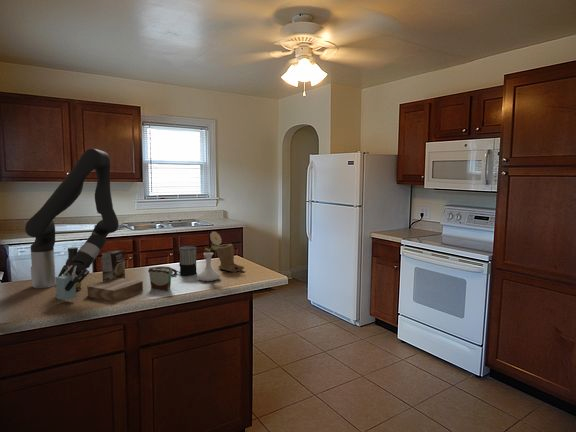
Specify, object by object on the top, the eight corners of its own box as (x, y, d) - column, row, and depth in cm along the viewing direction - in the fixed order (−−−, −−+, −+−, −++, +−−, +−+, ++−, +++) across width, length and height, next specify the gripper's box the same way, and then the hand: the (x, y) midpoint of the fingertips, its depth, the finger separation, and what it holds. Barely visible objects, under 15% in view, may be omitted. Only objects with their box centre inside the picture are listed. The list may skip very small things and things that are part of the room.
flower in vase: (204, 284, 185) (203, 234, 183) (193, 279, 194) (192, 231, 191) (227, 279, 194) (226, 231, 191) (215, 275, 202) (215, 229, 200)
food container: (178, 288, 179) (178, 267, 178) (170, 291, 173) (170, 270, 172) (157, 285, 183) (156, 265, 182) (148, 288, 177) (147, 268, 176)
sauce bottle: (70, 292, 170) (68, 249, 168) (63, 290, 173) (60, 248, 171) (84, 289, 176) (82, 247, 174) (77, 287, 179) (75, 246, 177)
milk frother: (200, 273, 206) (200, 247, 204) (178, 280, 193) (177, 251, 191) (182, 270, 214) (182, 244, 212) (159, 276, 200) (159, 248, 199)
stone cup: (212, 269, 216) (212, 243, 214) (230, 266, 223) (230, 241, 222) (226, 274, 204) (226, 247, 203) (244, 271, 212) (244, 244, 210)
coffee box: (114, 287, 180) (112, 253, 178) (102, 286, 181) (101, 253, 179) (126, 282, 189) (124, 250, 187) (114, 281, 190) (113, 249, 188)
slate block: (56, 298, 156) (55, 277, 155) (67, 295, 161) (67, 274, 160) (65, 300, 154) (64, 278, 153) (76, 296, 159) (75, 276, 158)
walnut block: (87, 297, 166) (87, 286, 165) (117, 287, 180) (116, 277, 180) (114, 302, 159) (114, 290, 159) (142, 291, 174) (142, 281, 173)
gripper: (69, 248, 165) (43, 282, 155) (92, 251, 160) (67, 286, 150) (80, 258, 171) (56, 291, 161) (103, 261, 165) (80, 296, 155)
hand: (62, 289), depth 155 cm, fingers closed on slate block, 5 cm apart
